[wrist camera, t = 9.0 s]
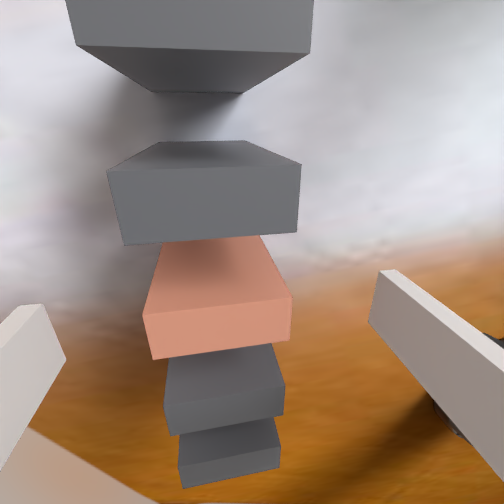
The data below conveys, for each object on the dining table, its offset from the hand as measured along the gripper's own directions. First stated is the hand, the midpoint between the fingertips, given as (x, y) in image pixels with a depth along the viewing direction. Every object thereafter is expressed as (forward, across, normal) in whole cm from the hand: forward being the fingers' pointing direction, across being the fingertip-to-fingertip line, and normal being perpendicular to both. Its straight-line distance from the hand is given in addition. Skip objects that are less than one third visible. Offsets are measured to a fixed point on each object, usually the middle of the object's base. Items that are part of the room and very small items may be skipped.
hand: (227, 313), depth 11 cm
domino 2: (+8, 0, -5) cm, 10 cm away
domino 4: (+9, 0, +4) cm, 9 cm away
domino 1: (+8, 0, -10) cm, 13 cm away
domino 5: (+9, 0, +8) cm, 12 cm away
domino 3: (+8, 0, -1) cm, 9 cm away
